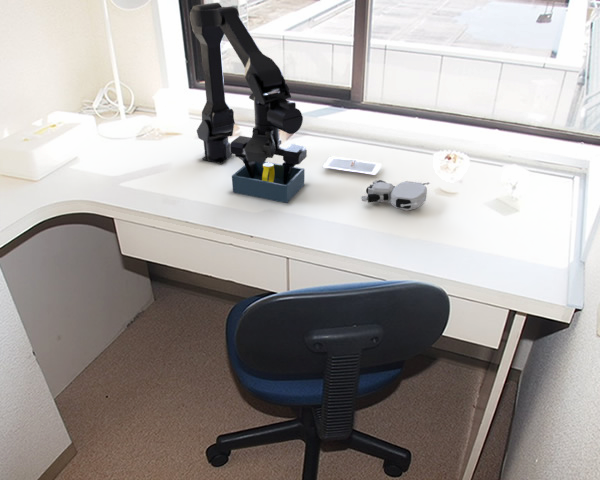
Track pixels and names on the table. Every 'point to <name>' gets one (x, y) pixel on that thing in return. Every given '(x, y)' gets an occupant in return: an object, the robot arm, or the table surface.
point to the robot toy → (397, 194)
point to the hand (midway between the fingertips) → (268, 181)
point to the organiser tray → (268, 183)
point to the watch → (269, 168)
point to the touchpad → (352, 165)
